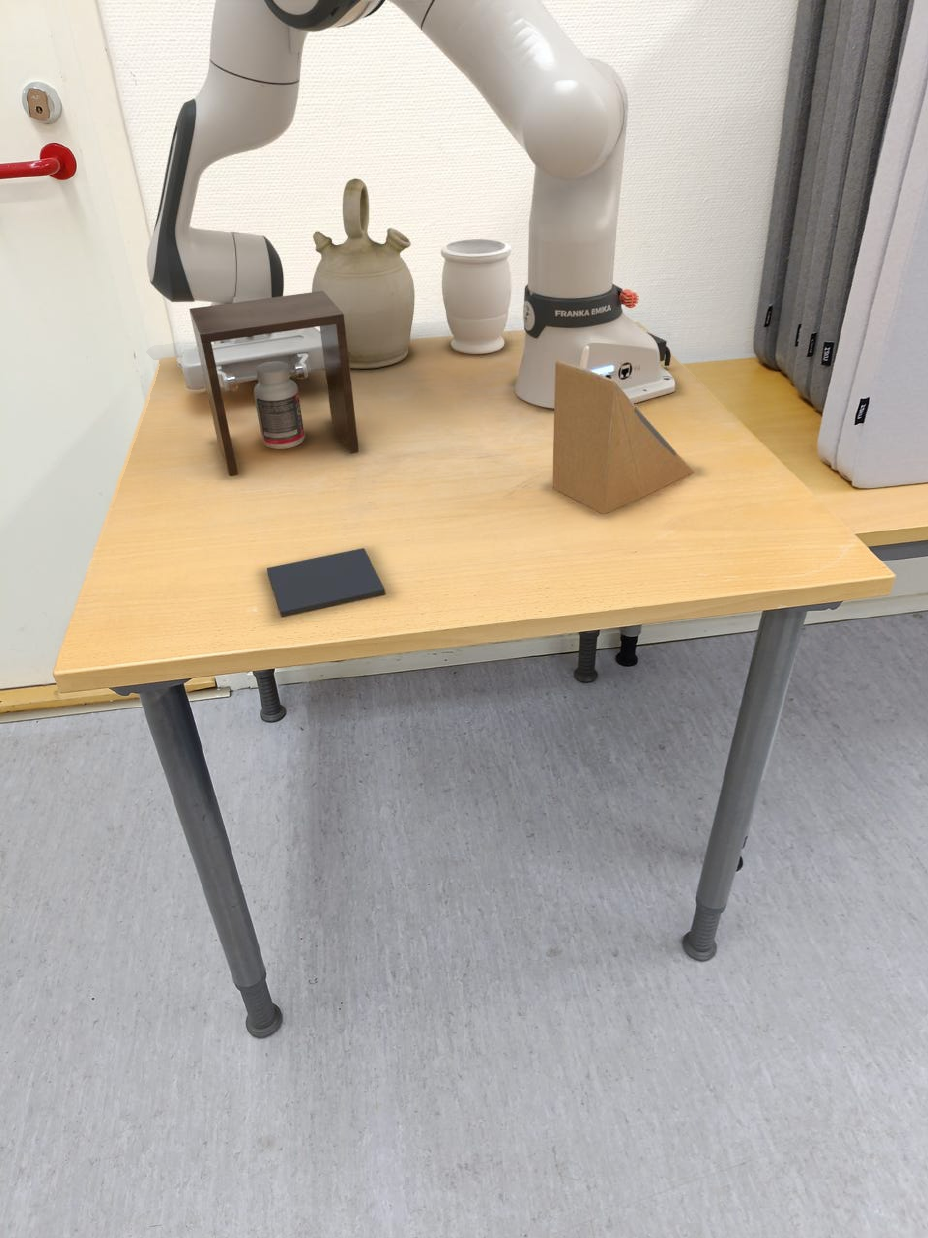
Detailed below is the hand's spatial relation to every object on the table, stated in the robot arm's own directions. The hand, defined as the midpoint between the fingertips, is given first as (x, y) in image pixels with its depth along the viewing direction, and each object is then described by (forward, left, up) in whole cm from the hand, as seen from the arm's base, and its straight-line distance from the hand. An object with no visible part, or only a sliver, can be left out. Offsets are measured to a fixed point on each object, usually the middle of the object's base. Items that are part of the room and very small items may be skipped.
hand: (266, 379), depth 113 cm
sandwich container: (-35, +34, -6) cm, 49 cm away
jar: (-35, -15, -6) cm, 39 cm away
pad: (+2, +42, -5) cm, 42 cm away
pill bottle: (0, +8, -6) cm, 10 cm away
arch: (0, +10, -5) cm, 11 cm away
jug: (-18, -18, -6) cm, 26 cm away
